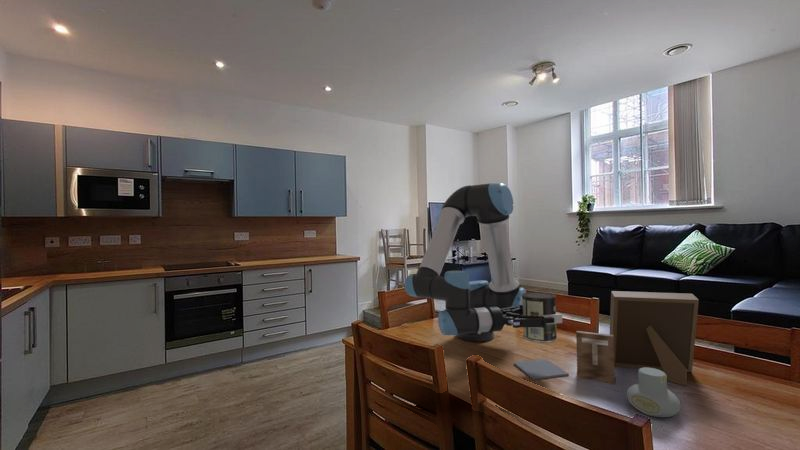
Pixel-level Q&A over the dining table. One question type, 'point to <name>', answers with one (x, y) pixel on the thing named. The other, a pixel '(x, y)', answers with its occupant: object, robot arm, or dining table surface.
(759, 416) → the dining table surface
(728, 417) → the dining table surface
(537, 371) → the grey mat
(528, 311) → the coffee can
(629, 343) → the photo frame
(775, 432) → the dining table surface
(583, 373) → the letter tile
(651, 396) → the air freshener
